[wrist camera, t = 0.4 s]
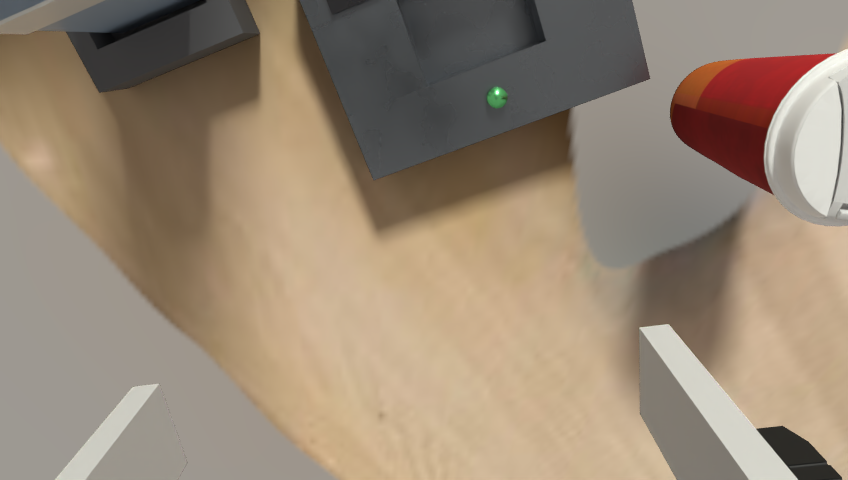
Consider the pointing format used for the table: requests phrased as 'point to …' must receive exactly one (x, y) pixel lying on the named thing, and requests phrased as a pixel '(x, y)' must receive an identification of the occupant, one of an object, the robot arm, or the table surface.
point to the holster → (163, 43)
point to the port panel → (468, 67)
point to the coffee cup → (774, 127)
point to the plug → (82, 14)
